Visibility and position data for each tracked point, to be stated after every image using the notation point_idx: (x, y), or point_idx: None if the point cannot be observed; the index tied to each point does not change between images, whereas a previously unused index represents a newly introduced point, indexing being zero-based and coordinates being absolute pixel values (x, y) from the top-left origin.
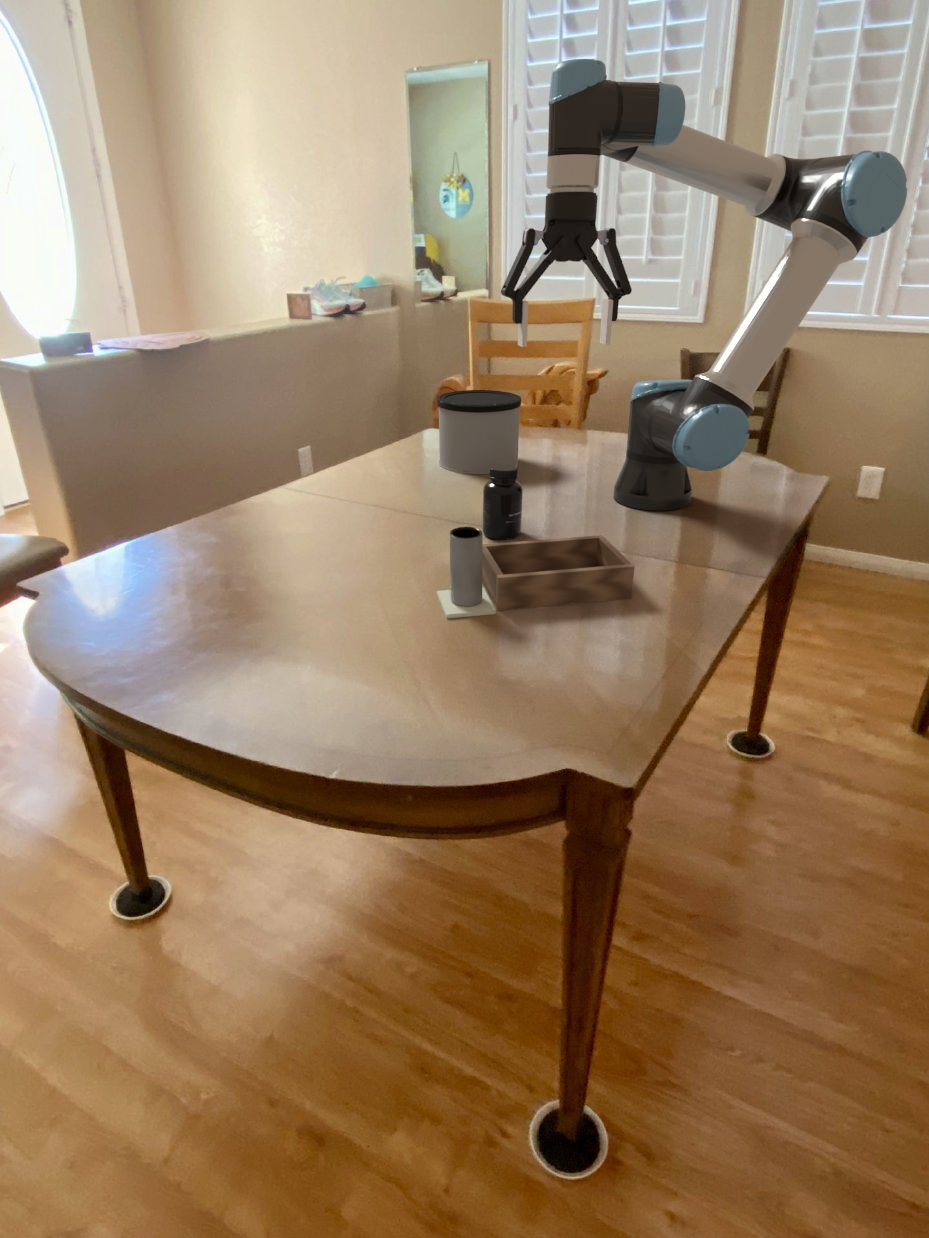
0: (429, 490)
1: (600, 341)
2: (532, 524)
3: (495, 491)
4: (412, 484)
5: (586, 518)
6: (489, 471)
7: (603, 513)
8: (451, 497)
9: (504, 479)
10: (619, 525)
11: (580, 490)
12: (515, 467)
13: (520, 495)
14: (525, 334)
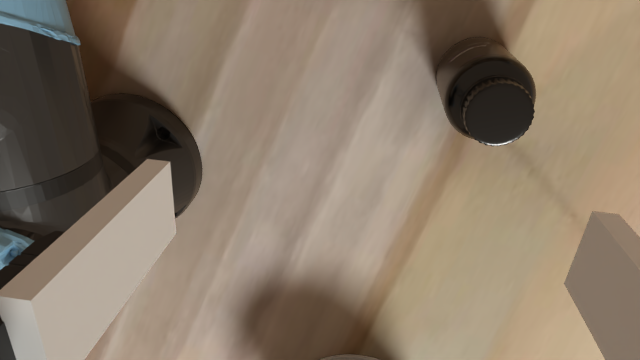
0: (493, 315)
1: (172, 226)
2: (394, 104)
3: (525, 70)
4: (507, 349)
5: (286, 104)
6: (359, 357)
7: (246, 119)
8: (472, 273)
9: (509, 77)
10: (241, 50)
11: (242, 237)
12: (471, 107)
13: (461, 64)
14: (632, 248)
